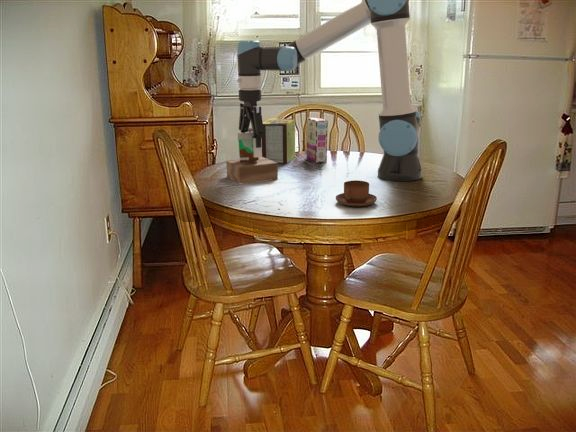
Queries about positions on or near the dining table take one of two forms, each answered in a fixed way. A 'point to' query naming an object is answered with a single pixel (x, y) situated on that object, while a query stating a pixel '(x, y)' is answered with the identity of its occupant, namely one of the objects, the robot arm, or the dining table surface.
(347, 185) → the cup and saucer
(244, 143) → the food container
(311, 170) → the dining table surface
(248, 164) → the walnut block
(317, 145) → the candy bar box
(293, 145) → the protein box
